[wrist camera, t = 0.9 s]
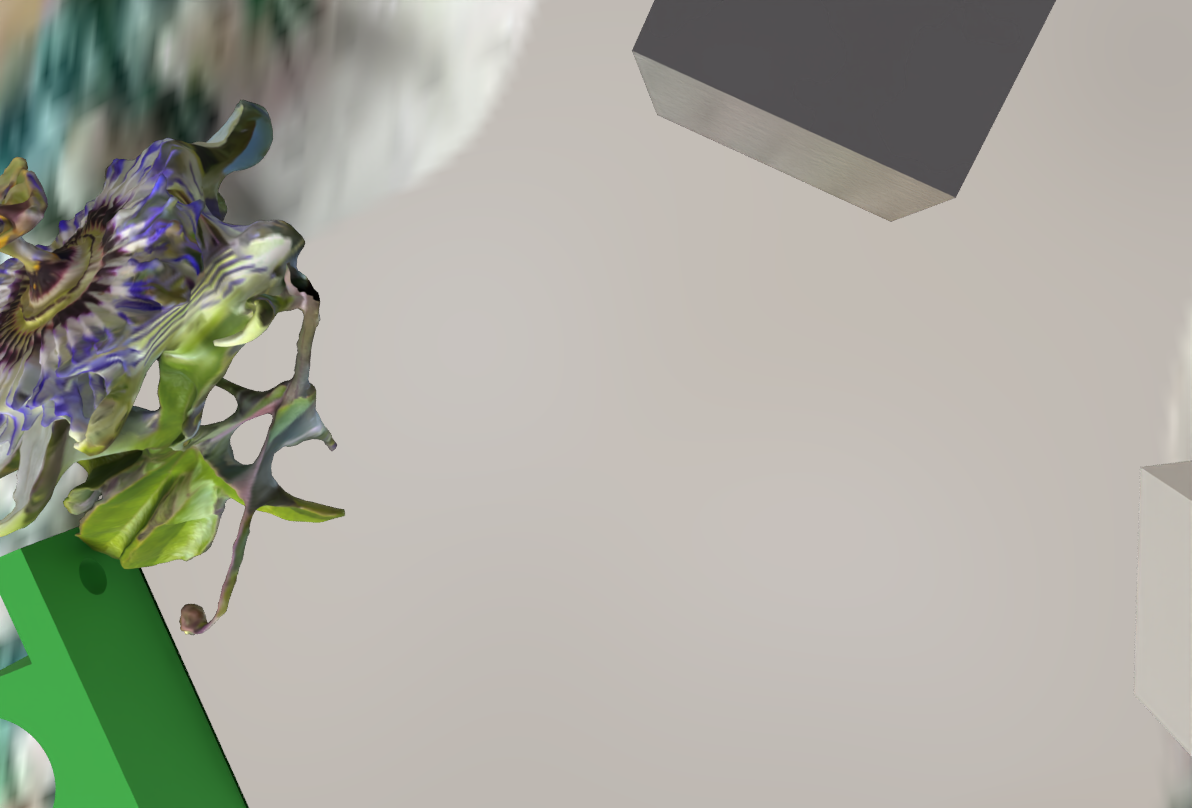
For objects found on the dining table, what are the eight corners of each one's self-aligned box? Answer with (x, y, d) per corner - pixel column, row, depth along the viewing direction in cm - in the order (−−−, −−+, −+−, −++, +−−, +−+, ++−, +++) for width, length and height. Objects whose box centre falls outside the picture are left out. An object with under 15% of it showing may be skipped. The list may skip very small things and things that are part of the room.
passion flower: (247, 256, 36) (178, -19, 26) (465, 467, 34) (489, 262, 23) (-57, 461, 32) (-296, 228, 21) (173, 722, 29) (36, 609, 19)
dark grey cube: (1014, -27, 27) (1133, -153, 19) (891, 221, 28) (955, 197, 20) (770, -134, 28) (788, -300, 20) (657, 114, 29) (632, 50, 21)
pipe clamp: (18, 553, 33) (-96, 594, 28) (118, 511, 32) (20, 546, 28) (162, 874, 33) (73, 965, 29) (263, 838, 33) (189, 924, 28)
